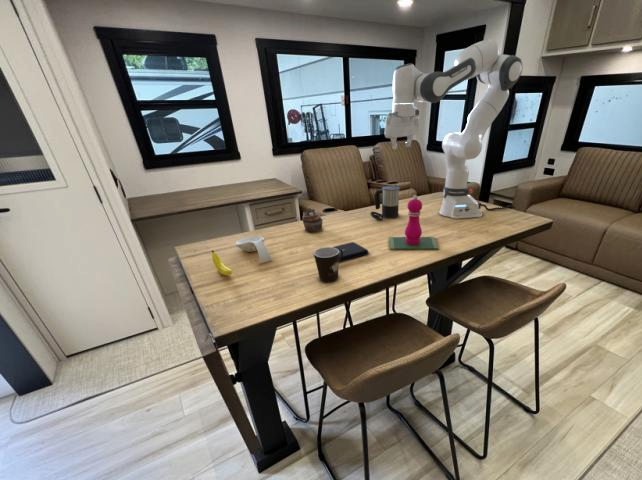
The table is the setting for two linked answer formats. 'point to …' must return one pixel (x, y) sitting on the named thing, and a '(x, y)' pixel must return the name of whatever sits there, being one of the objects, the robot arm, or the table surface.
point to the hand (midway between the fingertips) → (401, 147)
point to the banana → (220, 265)
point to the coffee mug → (327, 263)
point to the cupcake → (312, 221)
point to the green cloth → (424, 244)
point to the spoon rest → (255, 247)
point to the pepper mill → (413, 222)
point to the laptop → (351, 251)
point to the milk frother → (387, 202)
